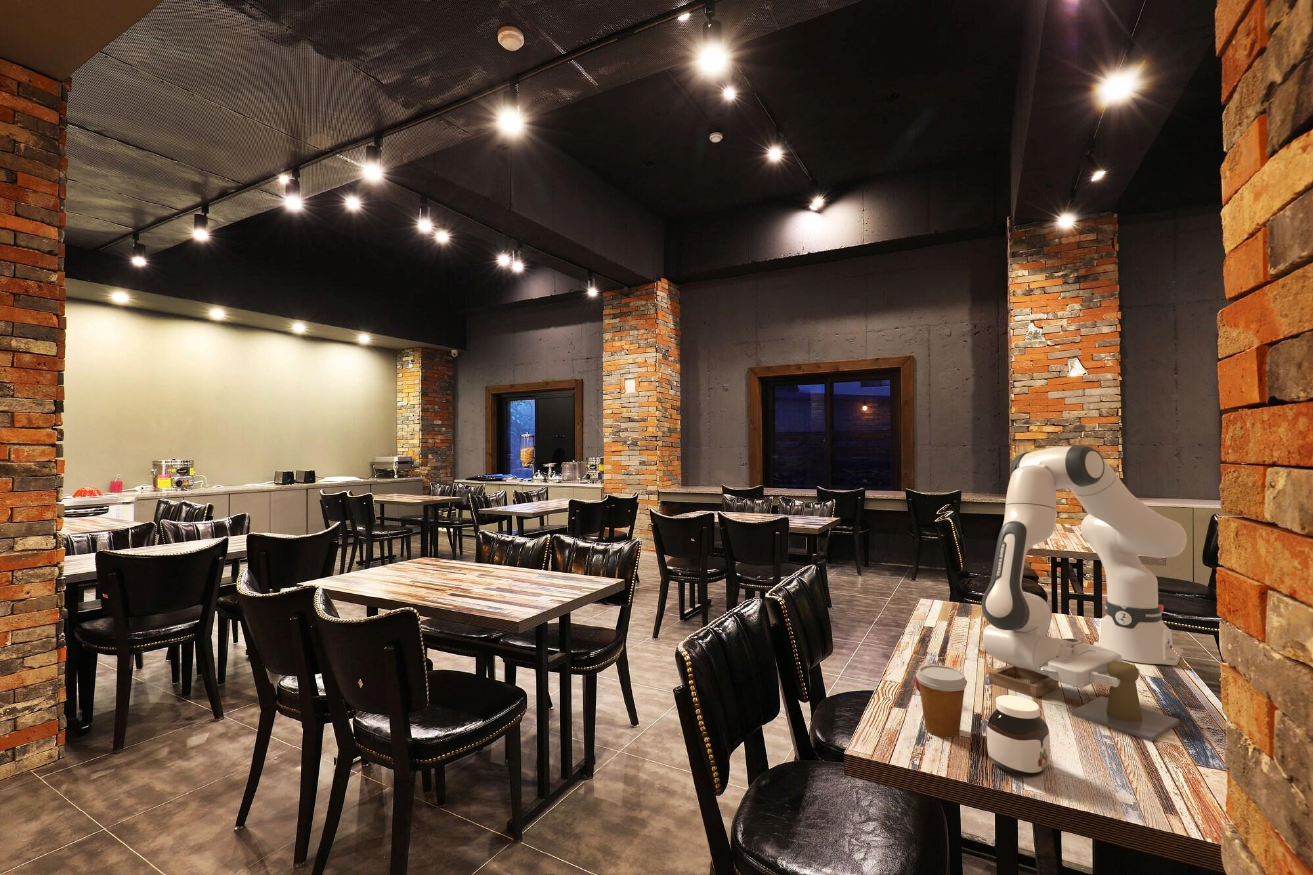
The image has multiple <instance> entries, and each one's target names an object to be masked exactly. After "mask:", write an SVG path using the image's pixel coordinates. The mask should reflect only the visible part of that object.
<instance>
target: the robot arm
mask: <svg viewBox="0 0 1313 875" xmlns="http://www.w3.org/2000/svg"><path fill="white" fill-rule="evenodd" d="M1009 466H1010V467H1009V473H1010V479H1009V481H1008V486H1007V492H1006V497H1005V508H1004V518H1003V519H1004V520H1003V524H1002V527H1001V528H1000V531H999V535H998V537H997V541H996V548H995V554H994V558H993V566H992V572H991V576H990V580H989V584H988V586H987V588H986V590H985V592H984V593H983V595H982V598H981V612H982V614H983V616H984V617H985V620H986V621H987V622H988V623H989V624H988V625H986V627H985V628H984V629H983V630H982V642H983V644H982V645H983V647H984V650H985V651H986V652H987V654H989V656H991V658H994V659H995V660H997V661H999V662H1001V663H1005V664H1007V665H1009V664H1010V665H1013V666H1016V667H1019V668H1028V669H1032V670H1034V671H1035V672H1037V673H1040V674H1043V675H1046V676H1049V677H1050V678H1052V679H1054V680H1056V681H1059V682H1060V683H1062V684H1065V685H1068V686H1070V687H1074V688H1081V689H1082V688H1083V689H1084V688H1085V687H1087V686H1090V685H1091V684H1094V685H1098V686H1099V685H1103V686H1108V687H1110V686H1113V687H1118V686H1119V685H1120V678H1119V677H1115V676H1112V675H1110V674H1109V672H1108V666H1109V664H1110V663H1111V662H1114V661H1120V662H1123V661H1128V662H1133V663H1140V664H1152V665H1153V664H1154V665H1155V664H1156V665H1168V666H1178V665H1179V662H1180V660H1181V659H1180V657H1181V658H1182V656H1183V655H1184V648H1181V647H1178V646H1175V645H1173V632H1172V630H1171V629H1170V628H1169V627H1168V626H1167V625H1166V624H1165V622H1164V621H1163V615H1162V613H1163V612H1164V605H1163V604H1159V585H1158V584H1159V583H1158V581H1159V580H1158V579H1157V576H1156V575H1155V574H1154V573H1153V572H1152V571H1151V570H1149V569H1148V568H1147V567H1146V566H1145V565H1144V564H1143V562H1142V561H1141V560H1140V558H1139V556H1142V557H1149V558H1175V557H1178V556H1179V555H1181V553H1183V551H1184V550H1185V548H1186V546H1187V542H1188V536H1187V533H1186V530H1185V529H1184V527H1183V526H1182V525H1181V523H1179V522H1177V521H1175V520H1173V519H1170V518H1168V517H1166V516H1164V515H1162V514H1160V513H1158V512H1157V511H1155V510H1153V509H1152V508H1151V507H1149V506H1148V505H1146V504H1145V503H1144V502H1143V501H1141V500H1140V499H1138V498H1137V497H1136V496H1135V495H1134V494H1133V493H1131V491H1130V490H1129V489H1128V488H1127V486H1126V484H1124V483H1123V481H1122V480H1121V479H1120V478H1119V476H1118V475H1117V474H1116V472H1115V471H1114V469H1113V468H1112V466H1110V465H1109V463H1108V462H1107V461H1106V460H1105V459H1104V458H1103V456H1102V455H1101V453H1100V452H1099V451H1098V450H1096V449H1095V448H1093V447H1092V446H1089V445H1080V444H1079V445H1078V444H1075V445H1071V446H1070V445H1069V446H1068V445H1067V446H1054V447H1049V448H1044V449H1038V450H1034V451H1025V452H1023V453H1019V454H1018V455H1016V456H1015V457H1014V459H1013V460H1012V461H1011V464H1010V465H1009ZM1063 489H1069V490H1070V492H1071V493H1072V494H1073V495H1074V497H1075V498H1076V500H1077V501H1078V502H1079V503H1080V505H1081V506H1082V508H1083V509H1084V510H1085V511H1086V513H1088V514H1087V515H1085V517H1084V518H1083V519H1082V521H1081V524H1080V532H1081V536H1082V538H1083V540H1084V541H1085V542H1086V543H1087V544H1089V545H1090V546H1091V547H1092V549H1093V550H1094V551H1095V553H1096V555H1097V556H1098V558H1099V559H1100V562H1101V564H1102V567H1103V569H1104V573H1105V579H1106V580H1105V582H1106V583H1105V584H1106V599H1105V604H1104V609H1105V610H1104V612H1105V614H1106V615H1105V616H1103V617H1102V618H1100V620H1099V634H1098V641H1094V642H1093V644H1089V643H1082V640H1080V639H1077V638H1074V637H1073V638H1072V637H1071V638H1059V637H1053V636H1047V635H1048V633H1049V630H1050V626H1051V622H1052V617H1053V616H1052V615H1053V614H1052V609H1051V607H1050V605H1049V604H1048V602H1047V601H1046V600H1045V599H1044V598H1042V597H1041V596H1039V595H1037V594H1034V593H1031V592H1026V591H1024V590H1023V588H1022V587H1023V586H1022V580H1023V575H1024V570H1025V569H1024V567H1025V563H1026V562H1025V561H1026V557H1027V556H1026V555H1027V553H1028V551H1029V550H1030V549H1031V548H1032V547H1034V546H1035V545H1037V544H1041V543H1043V542H1045V541H1047V540H1048V539H1049V538H1050V537H1051V536H1052V535H1053V534H1054V530H1055V527H1056V522H1057V491H1056V490H1063ZM1172 648H1173V649H1172ZM1174 650H1175V651H1176V652H1177V654H1176V652H1174ZM1178 655H1179V656H1178ZM1122 660H1123V661H1122ZM1136 668H1137V669H1138V672H1139V673H1140V669H1139V667H1136Z"/></svg>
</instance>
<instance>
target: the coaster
mask: <svg viewBox="0 0 1313 875" xmlns="http://www.w3.org/2000/svg"><path fill="white" fill-rule="evenodd" d="M1108 698H1109V697H1106V696H1104V695H1103V696H1102V695H1101V696H1099V697H1096V698H1095V699H1093V700H1091V701H1089V702H1087V703H1085V704H1083V705H1081V706H1079V707H1077V708H1075V709H1073V710H1072V711H1071V715H1072V716H1074V717H1078V718H1080V719H1083V720H1085V721H1090V722H1093V723H1095V724H1099V725H1101V726H1105V727H1108V728H1111V729H1114V730H1117V731H1119V732H1122V733H1125V734H1128V735H1131V736H1134V737H1138V738H1141V739H1143V740H1146V741H1149V742H1153V741H1155V740H1156V739H1158V738H1160V737H1161V736H1163V735H1164V734H1165V733H1167V732H1169V731H1170V730H1171V729H1173V728H1174V727H1177V726H1178V725H1179V724H1180V719H1179V718H1176V717H1172V716H1169V715H1165V714H1162V713H1159V712H1155V711H1153V710H1149V709H1145V708H1142V707H1140V709H1141V714H1142V720H1141V721H1138V722H1131V721H1125V720H1120V719H1117V718H1115V717H1112V716H1110V715H1109V714H1108V713H1107V705H1108Z"/></svg>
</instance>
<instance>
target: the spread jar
mask: <svg viewBox="0 0 1313 875" xmlns="http://www.w3.org/2000/svg"><path fill="white" fill-rule="evenodd" d="M985 736H986V744H987V745H986V747H987V748H986V749H987V753H988V757H989V759H991V761H992V762H993V763H994V764H995V765H997V766H998V767H999V768H1000V769H1002V770H1004V771H1005V772H1006V773H1009V774H1011V775H1015V776H1017V777H1022V778H1023V777H1024V778H1035V777H1036V778H1037V777H1038V776H1040V775H1042V774H1043V773H1044V772H1045V770H1046V769H1047V768H1048V765H1049V763H1050V757H1051V741H1050V739H1051V738H1050V729H1049V726H1048V724H1047V722H1046V721H1045V720H1044V719H1043V718H1042V717H1041V716H1040V706H1039V704H1038V703H1036V702H1035V701H1033V700H1031V699H1029V698H1025V697H1022V696H1018V695H1009V694H1007V695H1006V694H1004V695H999V696H997V697H996V698H995V709H994V711H993V712H992V713H991V714H990V716H989V717H988V720H987V725H986V727H985Z"/></svg>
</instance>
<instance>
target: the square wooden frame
mask: <svg viewBox="0 0 1313 875" xmlns="http://www.w3.org/2000/svg"><path fill="white" fill-rule="evenodd" d="M1014 677H1016V678H1014ZM1017 677H1018V678H1021V679H1024V680H1027V681H1030V682H1032V683H1030V682H1026V681H1023V680H1020V679H1017ZM1033 682H1034V683H1033ZM988 683H989V684H992V685H996V686H999V687H1002V688H1004V689H1007V690H1010V691H1013V692H1016V693H1019V694H1023V695H1026V696H1029V697H1032V698H1035V699H1036V698H1039V697H1041V696H1043V695H1045V694H1048V693H1049V692H1052V691H1054V690H1056V689H1058V688H1060V684H1059V681H1056V680H1054V679H1052V678H1050V677H1049V676H1046V675H1043V674H1040V673H1037V672H1035V671H1034V670H1032V669H1028V668H1019V667H1016V666H1013V665H1010V664H1007V665H1004V666H1002V667H999V668H997V669H994V670H991V671H989V672H988Z"/></svg>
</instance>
